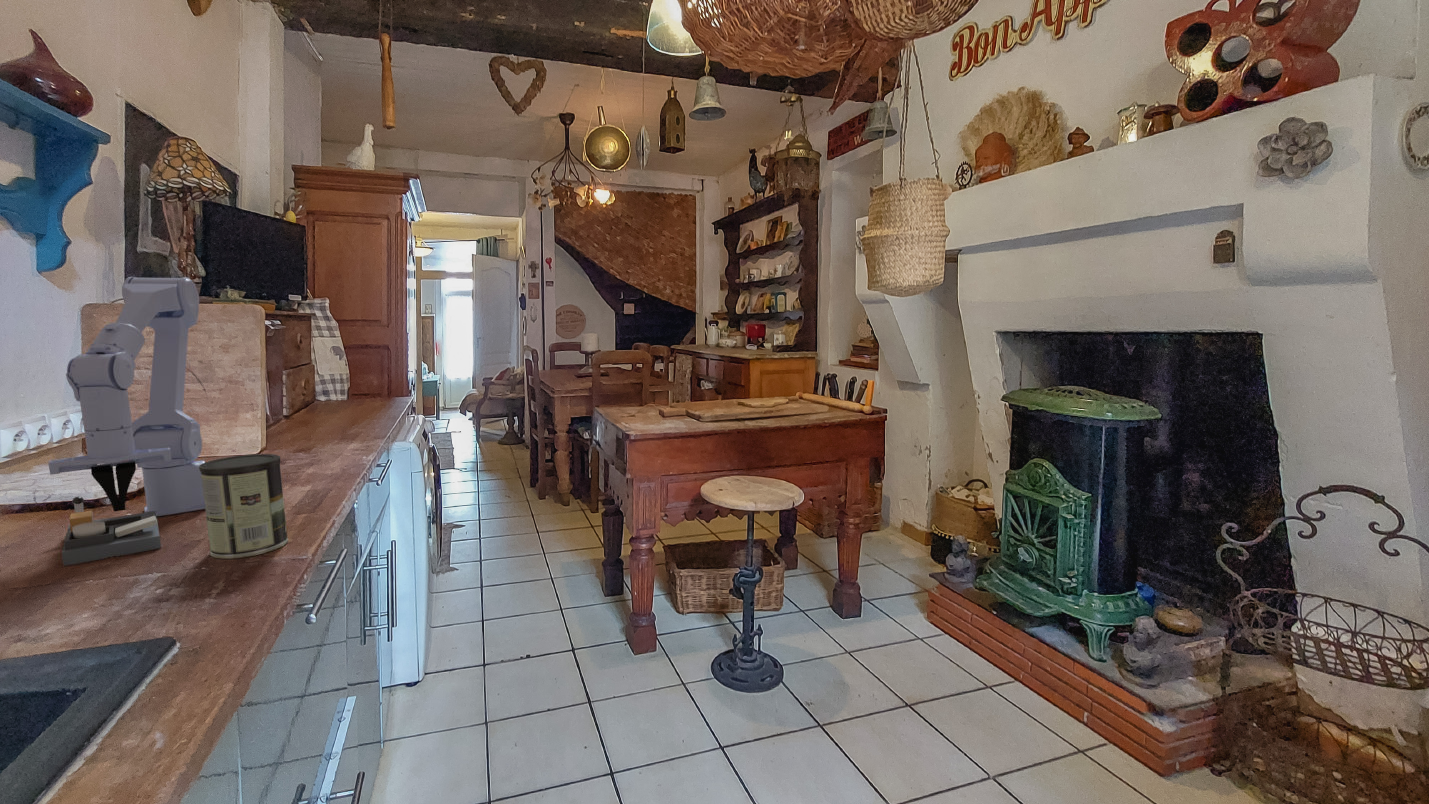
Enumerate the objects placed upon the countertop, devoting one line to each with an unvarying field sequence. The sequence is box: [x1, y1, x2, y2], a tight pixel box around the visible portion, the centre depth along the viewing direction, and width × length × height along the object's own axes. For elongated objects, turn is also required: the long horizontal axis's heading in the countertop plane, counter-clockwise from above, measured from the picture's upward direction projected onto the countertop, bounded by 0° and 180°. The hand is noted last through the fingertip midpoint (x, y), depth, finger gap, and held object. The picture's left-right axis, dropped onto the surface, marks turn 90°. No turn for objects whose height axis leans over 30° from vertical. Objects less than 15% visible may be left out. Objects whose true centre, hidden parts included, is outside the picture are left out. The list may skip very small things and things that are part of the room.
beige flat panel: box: [115, 516, 158, 537], centre depth 104 cm, size 5×3×1 cm, turn 131°
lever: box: [72, 496, 85, 513], centre depth 108 cm, size 1×1×4 cm
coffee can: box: [199, 453, 289, 560], centre depth 103 cm, size 10×10×14 cm
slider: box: [68, 510, 95, 532], centre depth 104 cm, size 2×4×3 cm, turn 42°
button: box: [72, 521, 106, 538], centre depth 100 cm, size 4×4×2 cm
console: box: [61, 511, 162, 567], centre depth 106 cm, size 11×18×3 cm, turn 42°
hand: (119, 509), depth 107 cm, fingers closed
